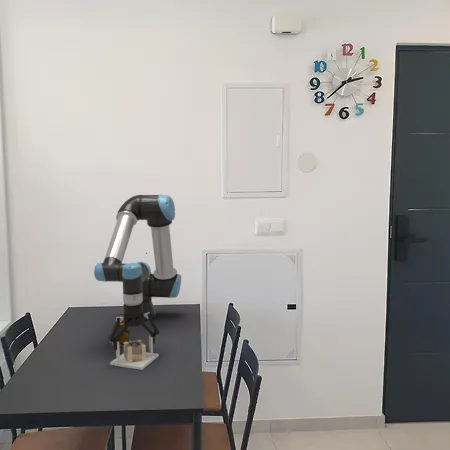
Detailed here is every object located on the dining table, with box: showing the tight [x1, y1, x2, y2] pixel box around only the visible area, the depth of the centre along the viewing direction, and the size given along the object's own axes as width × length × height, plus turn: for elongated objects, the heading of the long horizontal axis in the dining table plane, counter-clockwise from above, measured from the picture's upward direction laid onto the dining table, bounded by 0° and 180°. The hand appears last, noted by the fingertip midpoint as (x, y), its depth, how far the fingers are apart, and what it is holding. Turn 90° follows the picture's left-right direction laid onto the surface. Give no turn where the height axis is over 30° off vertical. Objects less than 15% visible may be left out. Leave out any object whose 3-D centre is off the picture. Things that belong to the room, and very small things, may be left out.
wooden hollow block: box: [123, 339, 147, 363], centre depth 209 cm, size 7×7×6 cm
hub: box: [109, 343, 160, 370], centre depth 210 cm, size 14×14×7 cm
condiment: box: [108, 313, 131, 344], centre depth 229 cm, size 7×8×12 cm
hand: (134, 354), depth 210 cm, fingers open, 13 cm apart
